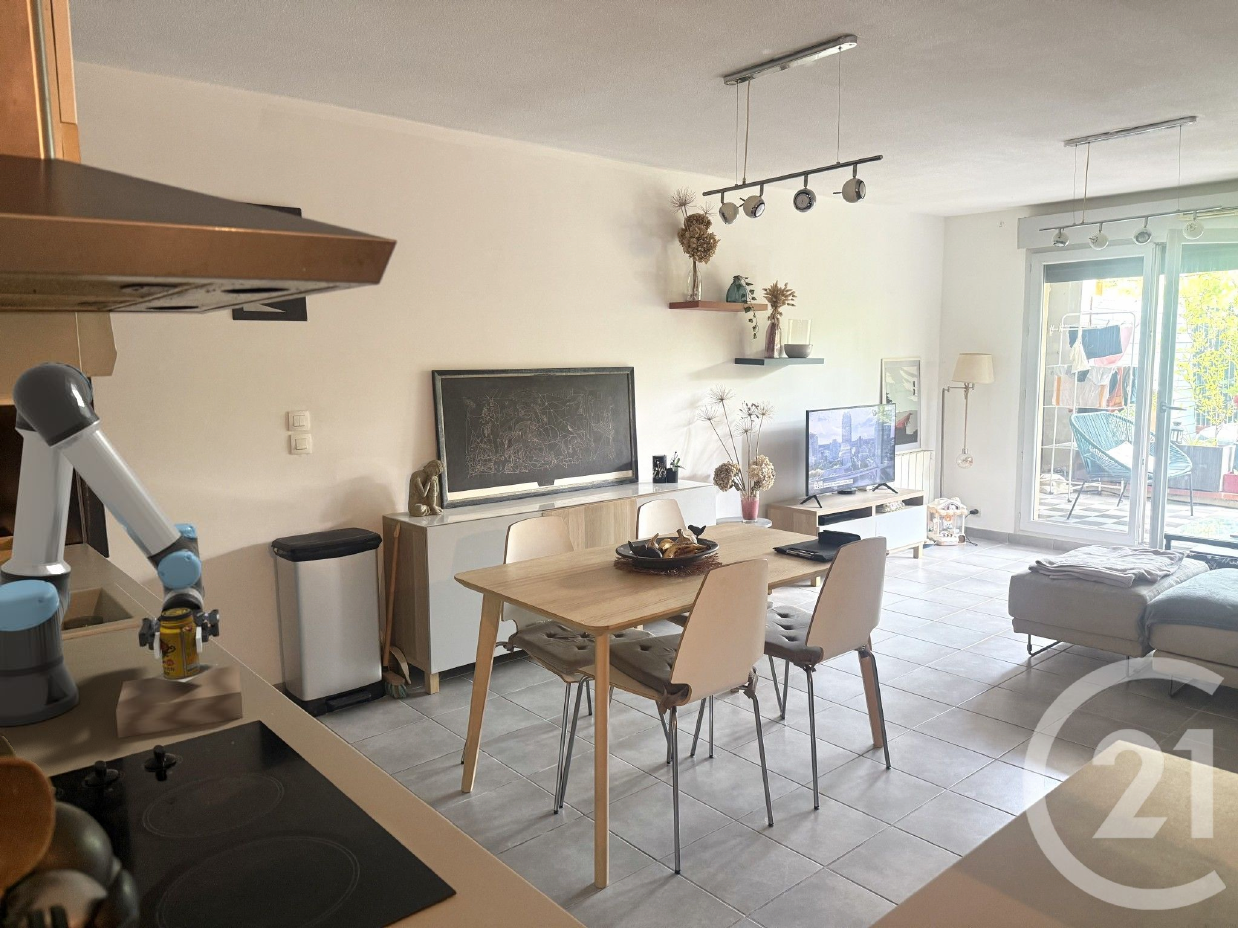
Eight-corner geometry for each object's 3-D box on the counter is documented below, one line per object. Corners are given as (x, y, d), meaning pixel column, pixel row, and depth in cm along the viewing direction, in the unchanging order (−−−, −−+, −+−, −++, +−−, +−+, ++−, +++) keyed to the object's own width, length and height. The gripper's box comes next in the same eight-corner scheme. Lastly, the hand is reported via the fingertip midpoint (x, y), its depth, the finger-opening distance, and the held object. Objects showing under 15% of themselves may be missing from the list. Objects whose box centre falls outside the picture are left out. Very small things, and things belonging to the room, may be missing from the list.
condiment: (152, 678, 159) (146, 615, 157) (188, 661, 167) (183, 601, 165) (184, 683, 156) (178, 619, 154) (219, 665, 164) (214, 604, 162)
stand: (118, 737, 152) (115, 710, 151) (125, 706, 164) (123, 681, 164) (242, 717, 160) (241, 691, 159) (240, 689, 173) (239, 665, 172)
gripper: (235, 621, 181) (237, 659, 160) (130, 635, 173) (118, 677, 152) (232, 586, 180) (234, 620, 159) (127, 598, 172) (114, 636, 151)
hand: (177, 648), depth 156 cm, fingers closed on condiment, 6 cm apart
